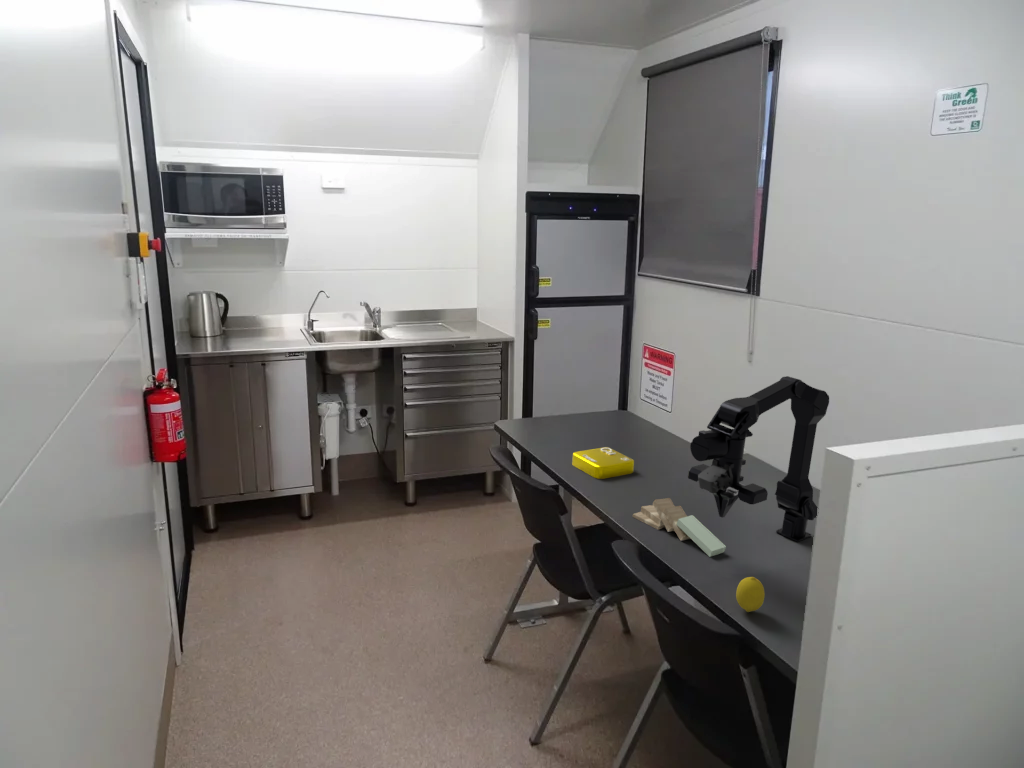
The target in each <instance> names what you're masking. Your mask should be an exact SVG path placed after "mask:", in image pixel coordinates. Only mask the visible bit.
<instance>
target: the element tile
mask: <svg viewBox="0 0 1024 768" xmlns="http://www.w3.org/2000/svg"><path fill="white" fill-rule="evenodd" d="M571 464H572V466H573V467H574V468H576V469H578V470H580V471H582V472H583V473H585V474H587V475H588V476H591V478H594V479H598V480H603V479H609V478H615V477H621V476H625V475H626V476H627V475H631V474H633V473H634V467H635V466H634V465H635V460H634V459H632V458H631V457H630V456H627V455H624V454H623V453H621V452H619V451H616V450H615V449H613V448H611V447H609V446H604V447H599V448H598V447H597V448H593V449H592V448H591V449H586V450H585V449H584V450H579V451H574V452H573V453H572V460H571Z"/></svg>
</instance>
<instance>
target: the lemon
mask: <svg viewBox="0 0 1024 768" xmlns="http://www.w3.org/2000/svg"><path fill="white" fill-rule="evenodd" d="M765 593H766V592H765V588H764V585H763V584H762V582H761V581H760V580H759V579H757V578H756V577H754V576H748V577H744V578H743V579H741V580H740V581H739V583H738V585H737V587H736V593H735V597H736V601H737V603H738V605H739V606H740V607H741V609H743V610H744V611H745V612H746V613H749V612H754V611H757V610H759V609H760V608H761V607H762V606H763V604H764V601H765V595H766V594H765Z"/></svg>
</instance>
